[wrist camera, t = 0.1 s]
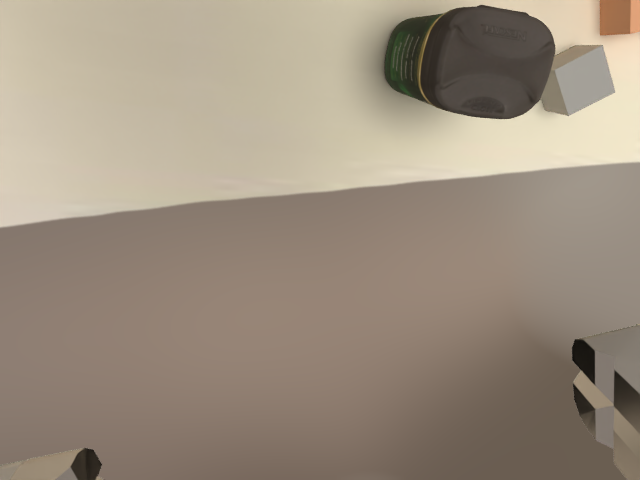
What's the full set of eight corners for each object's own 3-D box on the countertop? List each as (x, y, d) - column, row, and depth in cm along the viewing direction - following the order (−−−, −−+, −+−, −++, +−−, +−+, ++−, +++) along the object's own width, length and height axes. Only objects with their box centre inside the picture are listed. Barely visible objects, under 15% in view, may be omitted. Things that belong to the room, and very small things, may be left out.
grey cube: (531, 68, 53) (554, 70, 48) (574, 45, 52) (602, 45, 48) (544, 110, 55) (568, 115, 50) (587, 88, 54) (615, 92, 49)
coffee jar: (377, 92, 53) (420, 112, 35) (391, 12, 50) (446, -8, 33) (463, 105, 54) (545, 130, 36) (481, 27, 51) (580, 15, 34)
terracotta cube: (599, -16, 50) (631, -23, 46) (647, -28, 50) (684, -36, 45) (599, 35, 52) (630, 33, 47) (646, 24, 52) (681, 21, 47)
